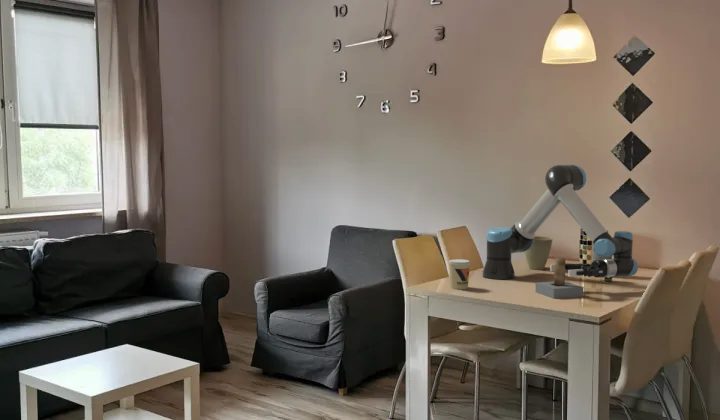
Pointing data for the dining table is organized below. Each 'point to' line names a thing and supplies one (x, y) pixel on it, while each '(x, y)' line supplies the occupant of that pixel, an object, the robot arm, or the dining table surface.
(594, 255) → the juice carton
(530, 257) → the plant pot
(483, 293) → the dining table surface
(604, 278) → the cup
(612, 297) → the dining table surface
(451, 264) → the coffee cup
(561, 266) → the walnut peg
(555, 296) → the socket block
